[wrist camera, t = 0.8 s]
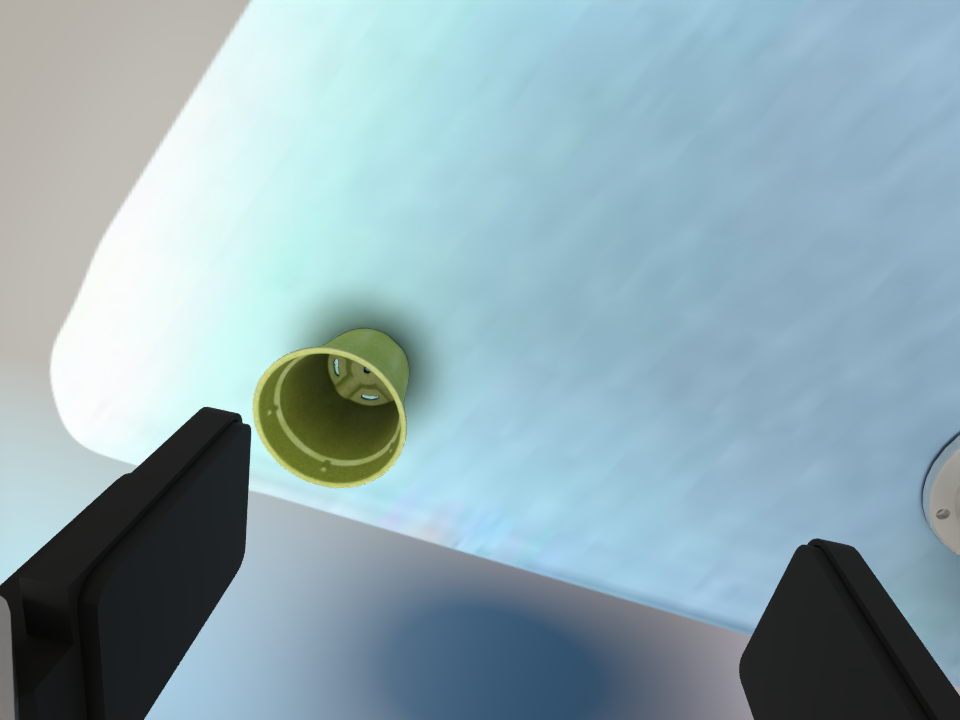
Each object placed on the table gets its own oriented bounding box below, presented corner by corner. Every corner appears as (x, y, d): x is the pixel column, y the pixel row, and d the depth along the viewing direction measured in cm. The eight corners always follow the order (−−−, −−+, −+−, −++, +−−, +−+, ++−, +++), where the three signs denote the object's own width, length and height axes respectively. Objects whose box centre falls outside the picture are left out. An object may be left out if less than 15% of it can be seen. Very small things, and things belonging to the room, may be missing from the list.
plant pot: (297, 303, 44) (239, 347, 36) (428, 304, 43) (399, 349, 35) (314, 421, 47) (265, 485, 39) (436, 424, 46) (411, 491, 38)
